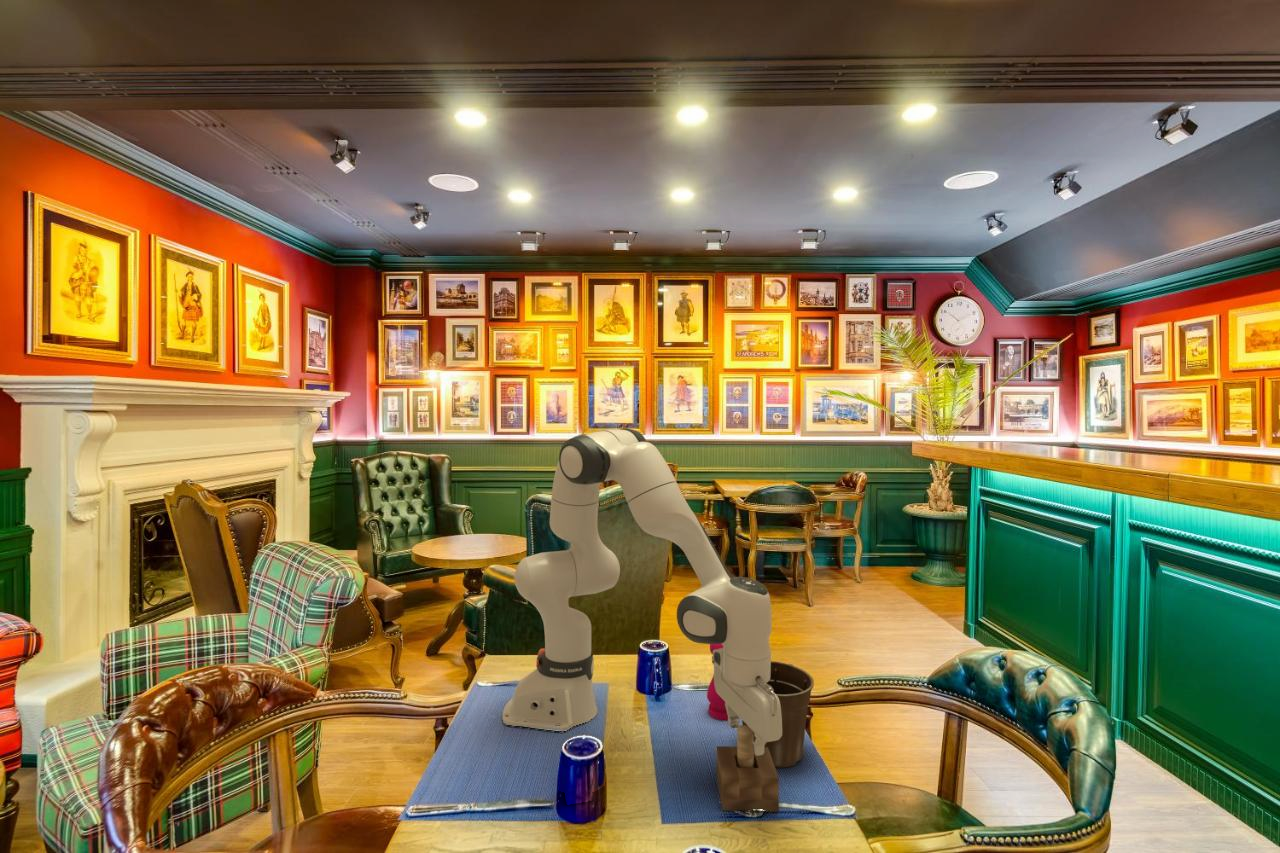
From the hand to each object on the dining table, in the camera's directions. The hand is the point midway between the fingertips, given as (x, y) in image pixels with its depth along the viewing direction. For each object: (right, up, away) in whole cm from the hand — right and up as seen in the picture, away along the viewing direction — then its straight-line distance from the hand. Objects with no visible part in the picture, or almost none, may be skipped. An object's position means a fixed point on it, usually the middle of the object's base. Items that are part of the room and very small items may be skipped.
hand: (745, 739), depth 109 cm
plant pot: (+8, -10, +13) cm, 19 cm away
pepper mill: (0, -10, +29) cm, 31 cm away
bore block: (0, -10, -1) cm, 10 cm away
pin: (0, -8, 0) cm, 8 cm away
